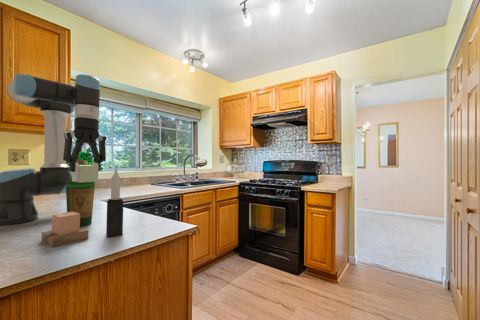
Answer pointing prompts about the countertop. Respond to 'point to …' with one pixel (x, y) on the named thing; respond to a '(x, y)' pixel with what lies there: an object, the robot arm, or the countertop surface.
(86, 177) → the brick
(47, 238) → the base block
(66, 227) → the brick
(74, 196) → the bottle
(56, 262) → the countertop surface
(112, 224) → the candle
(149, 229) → the countertop surface
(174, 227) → the countertop surface
